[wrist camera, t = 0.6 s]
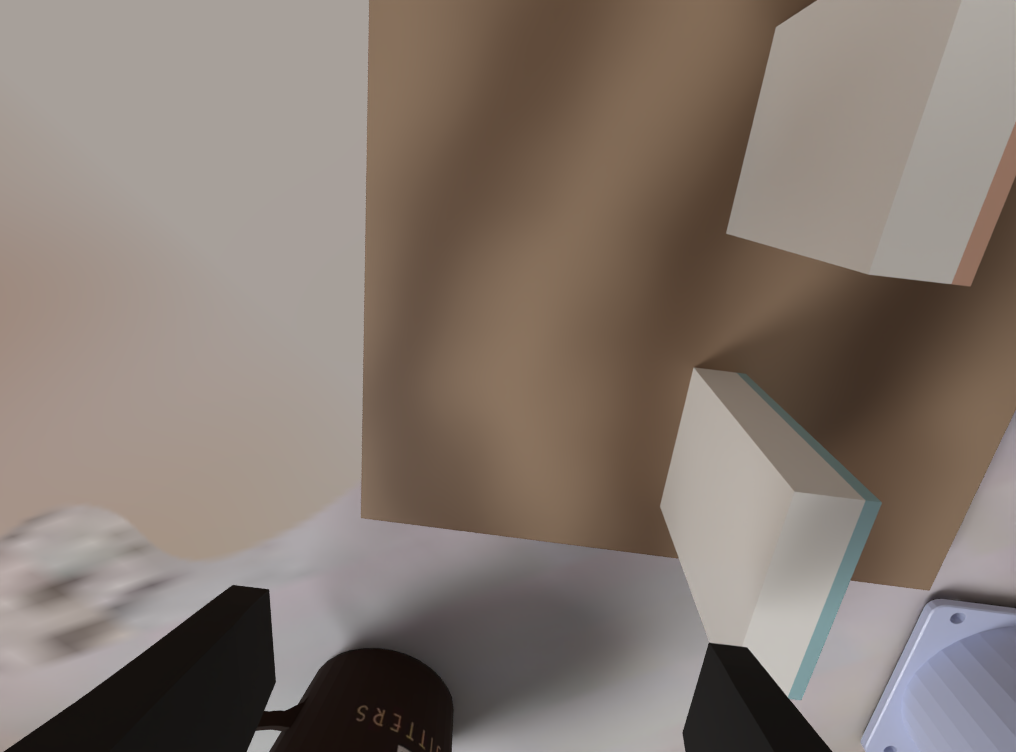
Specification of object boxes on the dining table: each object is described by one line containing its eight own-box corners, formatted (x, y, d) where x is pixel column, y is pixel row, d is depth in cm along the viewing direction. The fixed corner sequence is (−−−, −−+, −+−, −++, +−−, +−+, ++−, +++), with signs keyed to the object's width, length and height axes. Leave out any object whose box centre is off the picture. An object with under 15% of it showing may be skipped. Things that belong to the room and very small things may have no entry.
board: (1166, -10, 14) (1223, -27, 12) (907, 567, 20) (929, 590, 19) (384, -94, 14) (370, -118, 13) (370, 498, 20) (361, 517, 19)
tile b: (841, 34, 13) (1131, -109, 7) (783, 240, 15) (970, 286, 8) (776, 27, 13) (1002, -122, 7) (726, 233, 15) (868, 274, 8)
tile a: (746, 373, 16) (881, 502, 10) (707, 512, 18) (801, 700, 12) (693, 367, 16) (794, 491, 10) (659, 506, 18) (727, 690, 12)
